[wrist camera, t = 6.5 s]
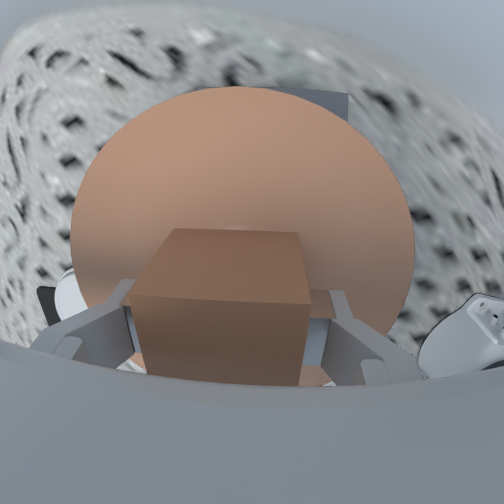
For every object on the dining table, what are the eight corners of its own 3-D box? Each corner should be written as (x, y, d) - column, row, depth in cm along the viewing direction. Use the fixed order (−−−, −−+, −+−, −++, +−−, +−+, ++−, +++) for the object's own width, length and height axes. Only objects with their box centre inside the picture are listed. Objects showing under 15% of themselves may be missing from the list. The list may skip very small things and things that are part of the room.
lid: (429, 109, 9) (521, 121, 4) (366, 387, 14) (386, 467, 10) (63, 106, 9) (-31, 120, 5) (115, 373, 15) (82, 444, 10)
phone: (63, 359, 46) (34, 287, 40) (65, 356, 47) (36, 284, 41) (97, 366, 46) (69, 290, 40) (99, 362, 47) (72, 287, 40)
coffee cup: (131, 301, 40) (95, 362, 29) (89, 245, 37) (37, 294, 26) (185, 273, 38) (156, 337, 27) (140, 208, 34) (90, 254, 24)
